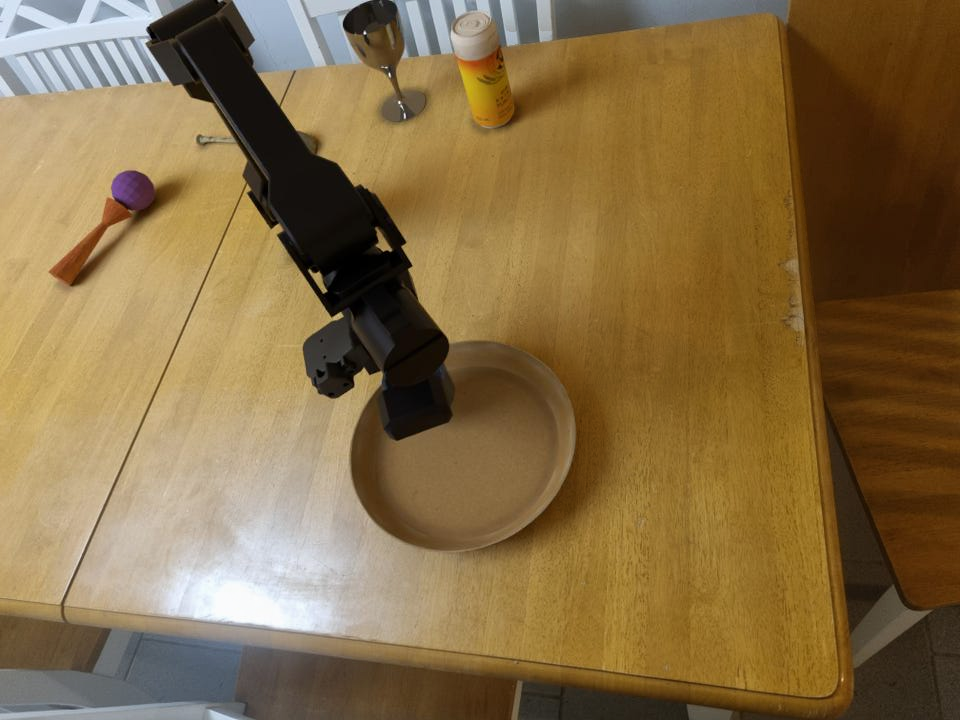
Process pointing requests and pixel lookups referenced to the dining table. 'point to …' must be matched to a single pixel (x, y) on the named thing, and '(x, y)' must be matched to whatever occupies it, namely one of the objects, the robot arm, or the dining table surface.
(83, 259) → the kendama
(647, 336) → the dining table surface
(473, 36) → the beer can
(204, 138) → the soupspoon
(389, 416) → the robot arm
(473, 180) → the dining table surface
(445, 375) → the bowl
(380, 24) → the wine glass
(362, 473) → the plant saucer
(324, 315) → the dining table surface
